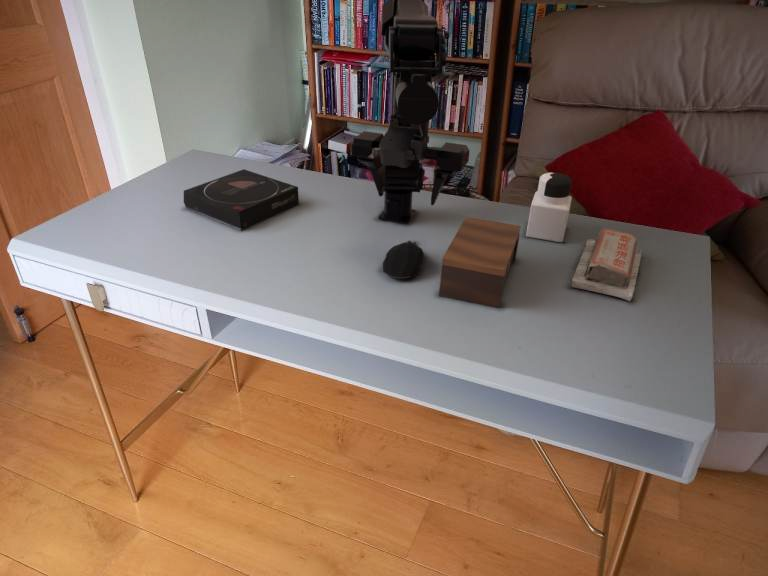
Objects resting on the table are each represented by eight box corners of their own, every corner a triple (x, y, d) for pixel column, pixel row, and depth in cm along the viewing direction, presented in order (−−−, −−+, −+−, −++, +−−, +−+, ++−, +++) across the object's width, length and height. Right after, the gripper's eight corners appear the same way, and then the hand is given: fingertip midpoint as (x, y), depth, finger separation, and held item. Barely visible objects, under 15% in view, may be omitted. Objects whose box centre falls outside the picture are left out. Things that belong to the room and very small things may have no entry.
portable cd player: (243, 185, 135) (241, 168, 133) (298, 204, 127) (297, 187, 125) (184, 207, 124) (181, 189, 121) (241, 230, 115) (239, 211, 113)
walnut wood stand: (461, 250, 111) (465, 216, 107) (515, 260, 108) (521, 225, 104) (438, 295, 97) (442, 258, 93) (499, 308, 94) (505, 270, 91)
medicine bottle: (565, 228, 120) (577, 172, 114) (562, 243, 115) (574, 185, 108) (530, 222, 122) (539, 167, 116) (525, 237, 116) (535, 179, 110)
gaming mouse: (431, 246, 112) (432, 226, 110) (414, 284, 100) (415, 263, 98) (398, 241, 113) (399, 222, 111) (378, 278, 101) (378, 258, 99)
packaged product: (591, 222, 112) (647, 233, 108) (586, 245, 114) (640, 257, 111) (575, 263, 98) (638, 277, 94) (569, 288, 100) (631, 303, 97)
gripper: (335, 111, 88) (336, 208, 96) (457, 127, 83) (447, 228, 91) (363, 95, 97) (362, 185, 105) (474, 109, 92) (464, 202, 100)
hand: (406, 200), depth 100 cm, fingers open, 9 cm apart
